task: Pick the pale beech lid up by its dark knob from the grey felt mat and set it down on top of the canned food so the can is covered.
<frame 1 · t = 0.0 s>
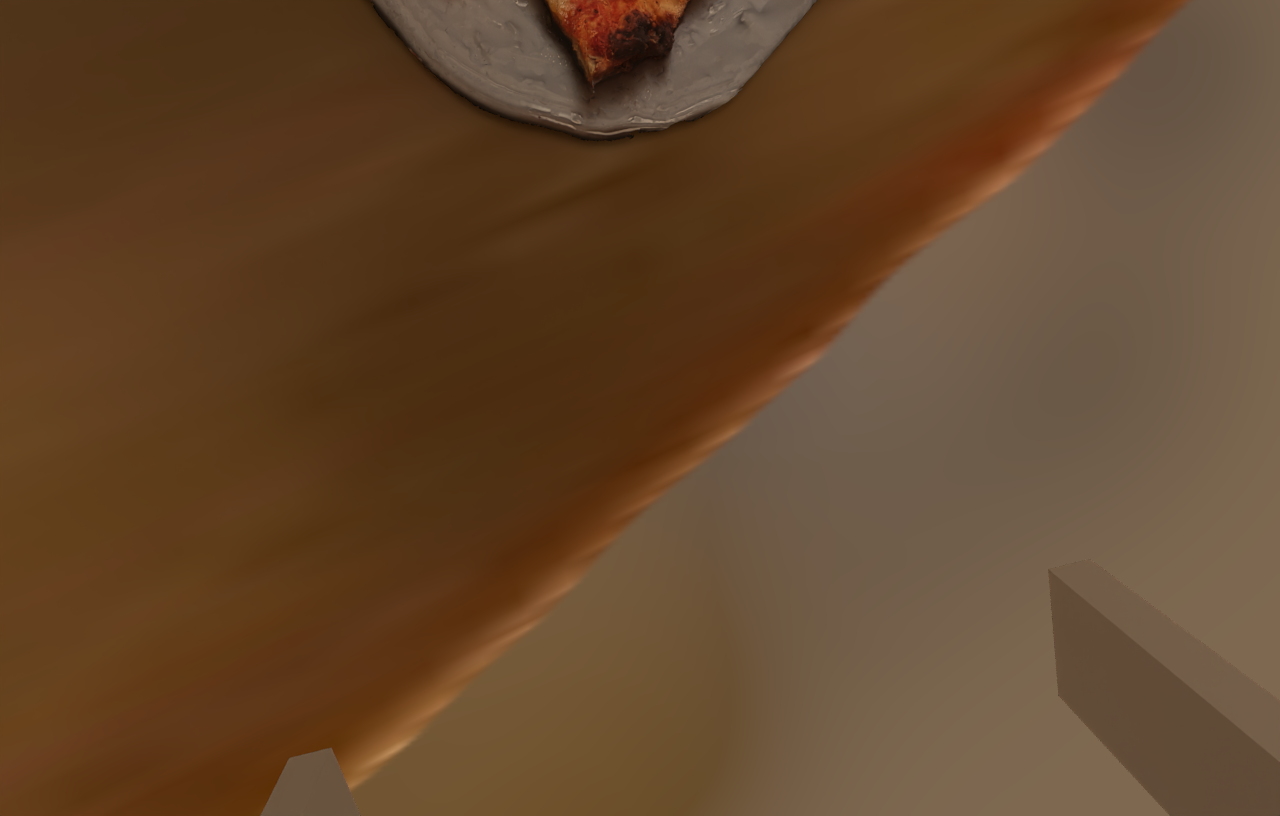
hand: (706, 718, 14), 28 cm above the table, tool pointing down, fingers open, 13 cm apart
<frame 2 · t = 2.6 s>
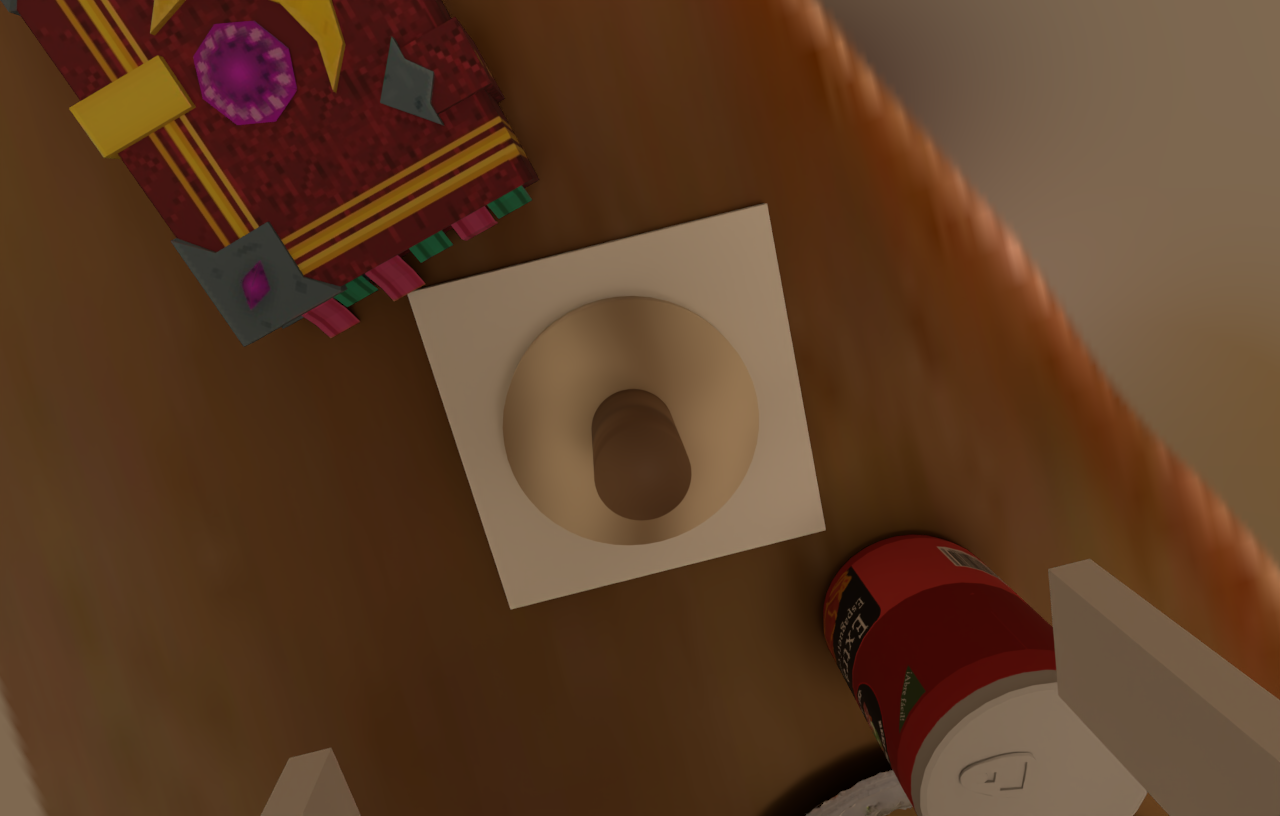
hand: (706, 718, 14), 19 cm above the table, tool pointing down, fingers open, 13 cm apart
canned food: (900, 602, 36), on the table
lid: (630, 419, 31), point 1 cm above the table, touching mat
decorative book: (313, 79, 27), on the table, touching mat
mat: (629, 415, 32), on the table
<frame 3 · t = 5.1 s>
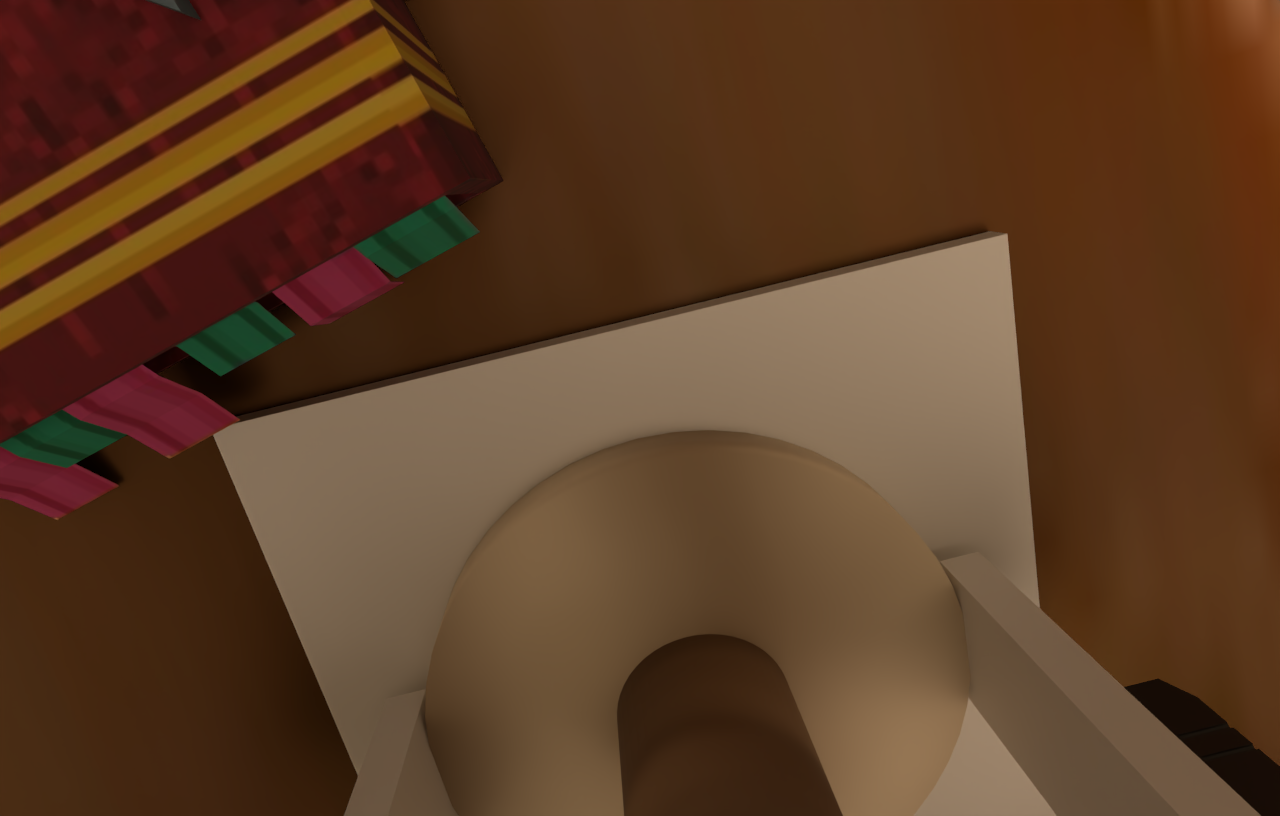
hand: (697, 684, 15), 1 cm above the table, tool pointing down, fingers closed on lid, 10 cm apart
lid: (694, 670, 15), point 1 cm above the table, touching gripper, mat
mat: (690, 652, 16), on the table
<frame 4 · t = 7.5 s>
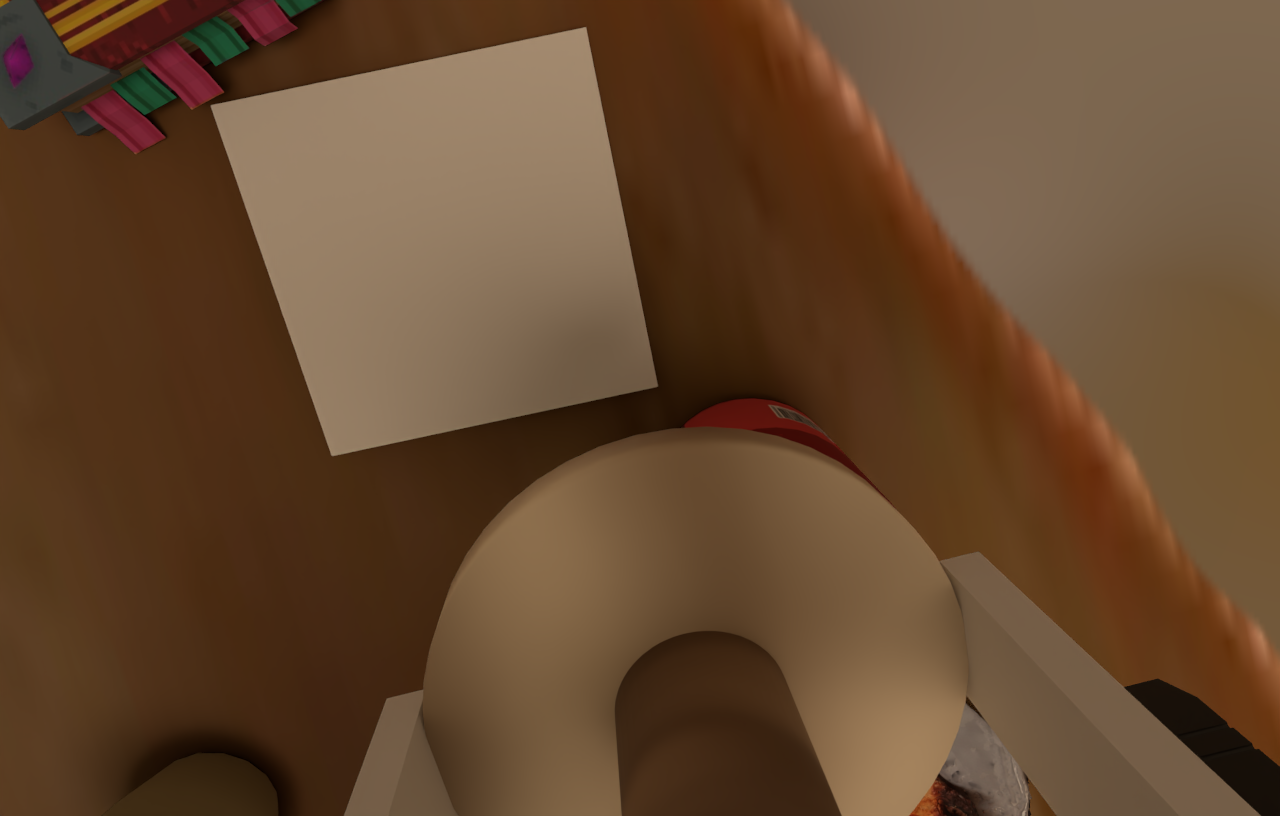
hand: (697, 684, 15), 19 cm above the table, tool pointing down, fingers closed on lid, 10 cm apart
squeeze bottle: (220, 795, 38), on the table
food plate: (781, 815, 41), on the table
canned food: (742, 472, 35), on the table
lid: (692, 667, 15), point 19 cm above the table, touching gripper
mat: (452, 254, 31), on the table
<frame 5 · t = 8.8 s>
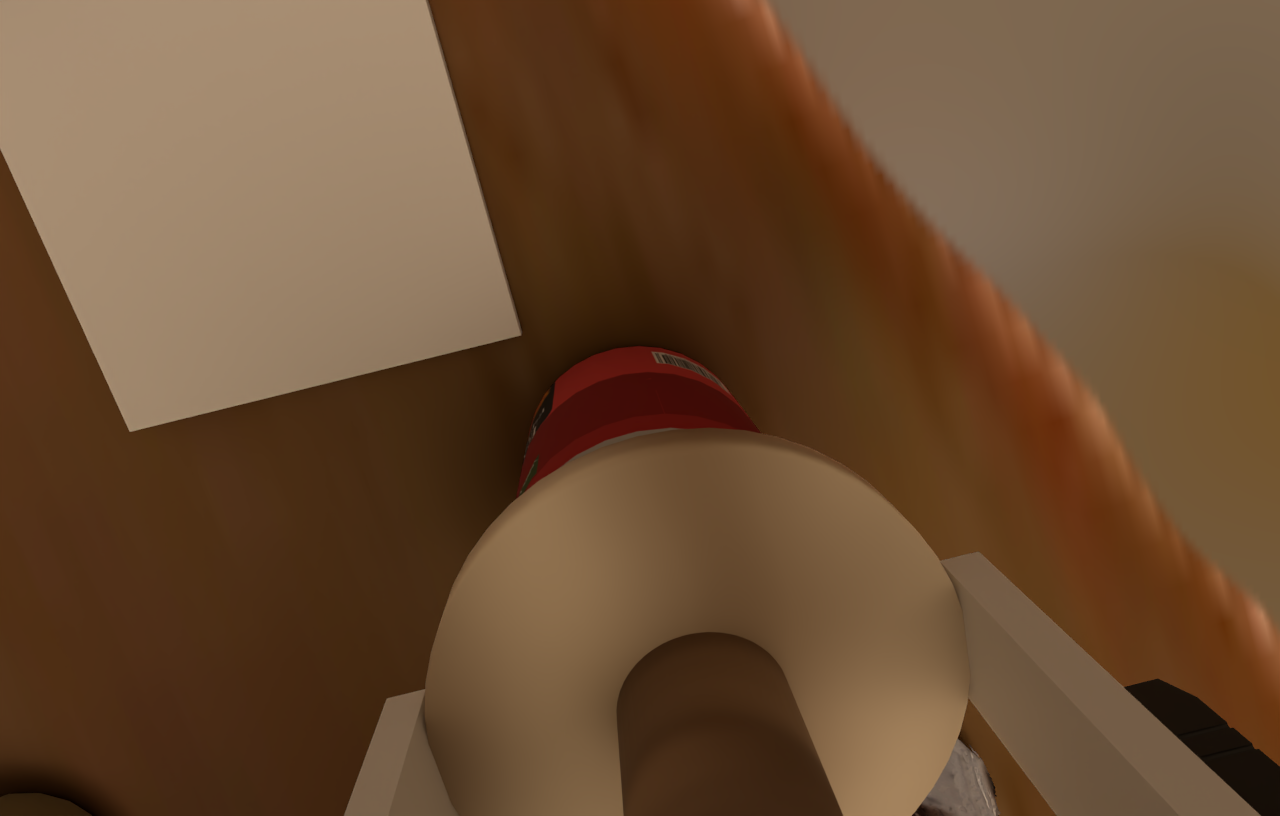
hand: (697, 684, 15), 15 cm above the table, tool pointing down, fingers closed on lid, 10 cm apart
canned food: (635, 438, 29), on the table
lid: (694, 668, 15), point 14 cm above the table, touching gripper
mat: (258, 179, 25), on the table
when the fingers open (13 cm above the table, at t = 10.1 s): lid drops 1 cm, resting on canned food.
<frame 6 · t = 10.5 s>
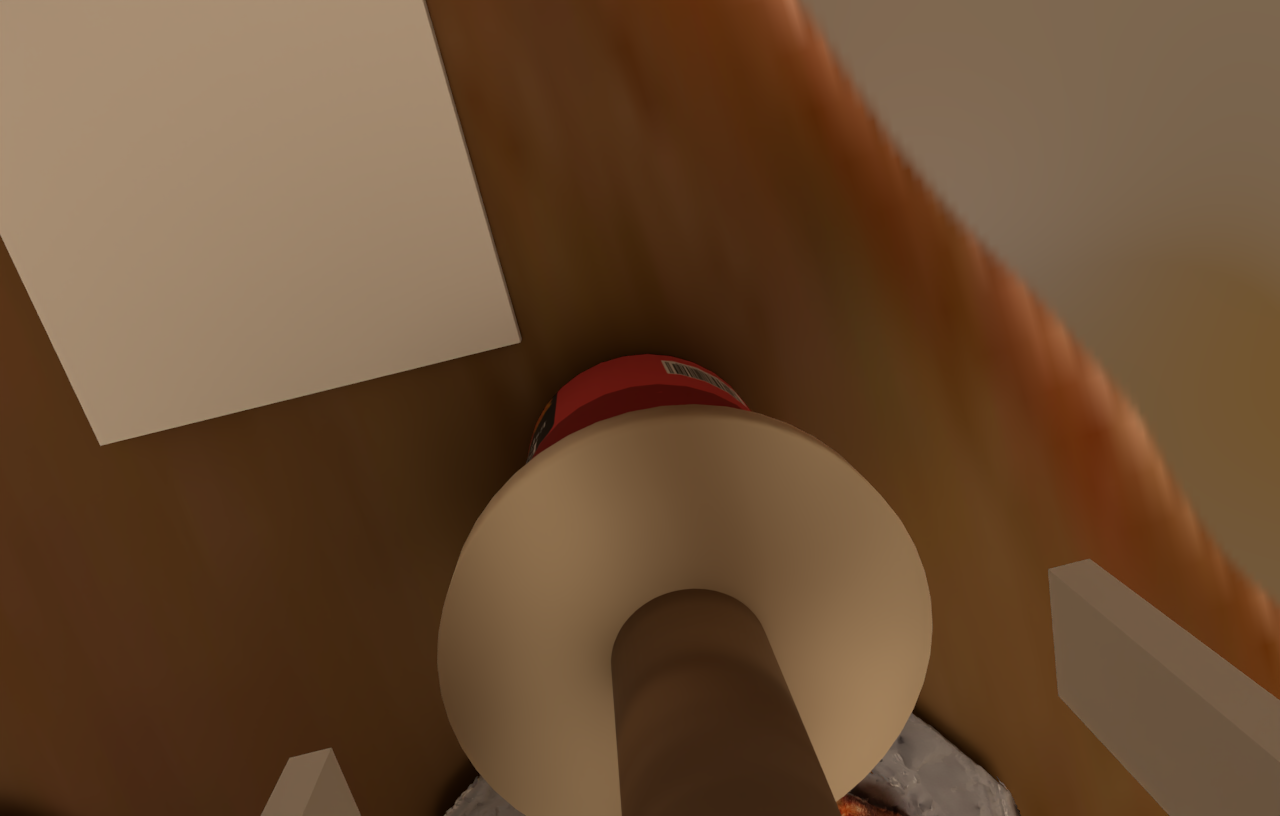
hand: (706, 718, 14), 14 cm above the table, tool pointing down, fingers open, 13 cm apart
canned food: (643, 451, 27), on the table, touching lid
lid: (682, 626, 17), point 11 cm above the table, touching canned food
mat: (236, 174, 24), on the table
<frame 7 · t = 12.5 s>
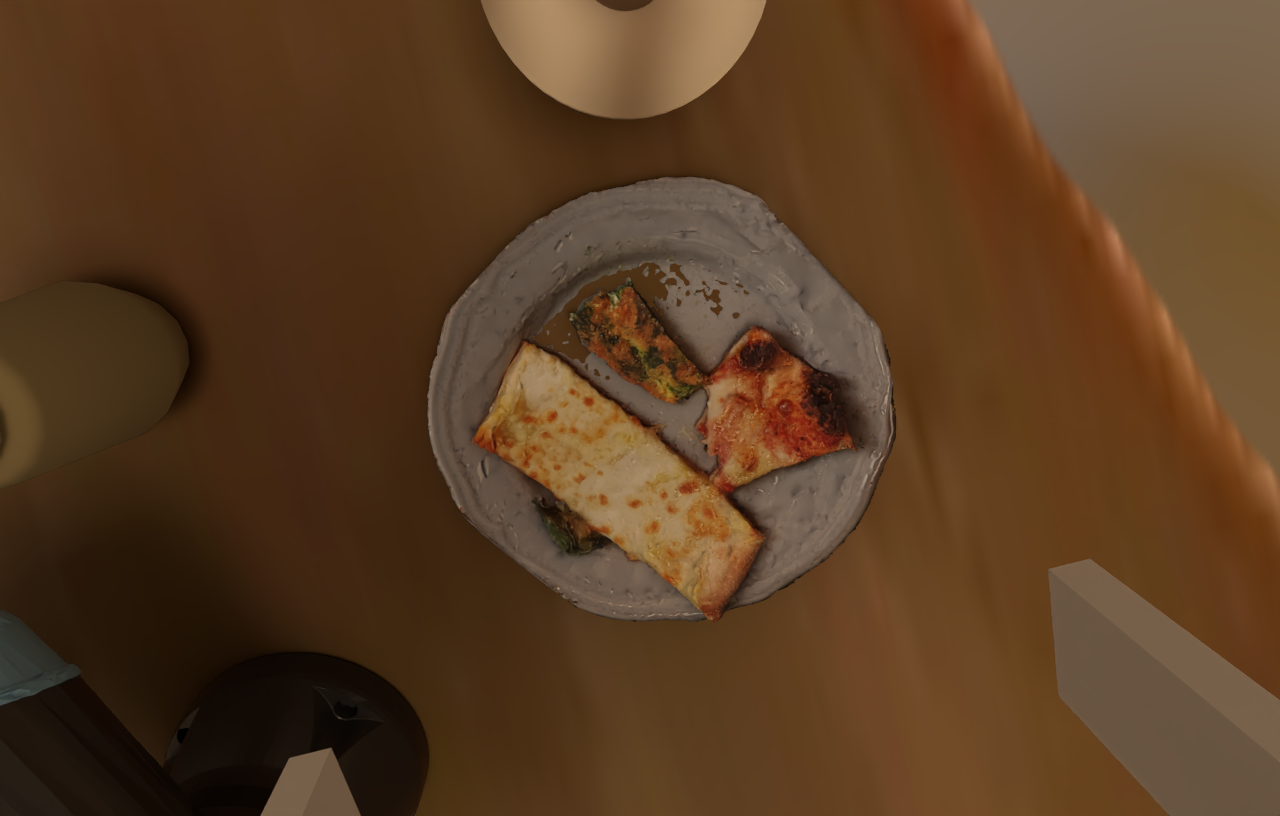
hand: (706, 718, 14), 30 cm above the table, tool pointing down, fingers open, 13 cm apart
squeeze bottle: (136, 346, 41), on the table
food plate: (663, 411, 44), on the table
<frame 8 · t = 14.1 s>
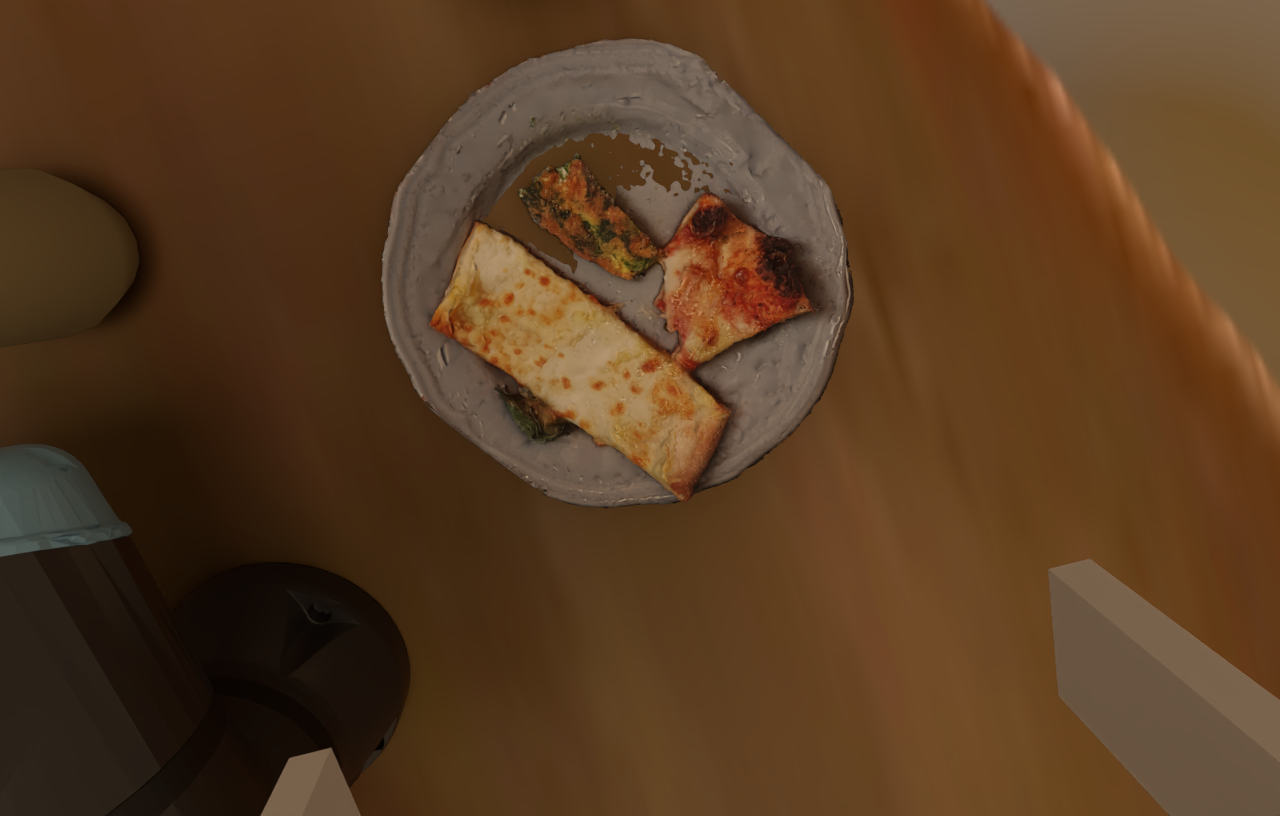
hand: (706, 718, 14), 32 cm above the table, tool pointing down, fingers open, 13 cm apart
squeeze bottle: (84, 247, 41), on the table
food plate: (621, 291, 44), on the table
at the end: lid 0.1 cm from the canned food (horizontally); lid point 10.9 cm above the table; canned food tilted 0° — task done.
